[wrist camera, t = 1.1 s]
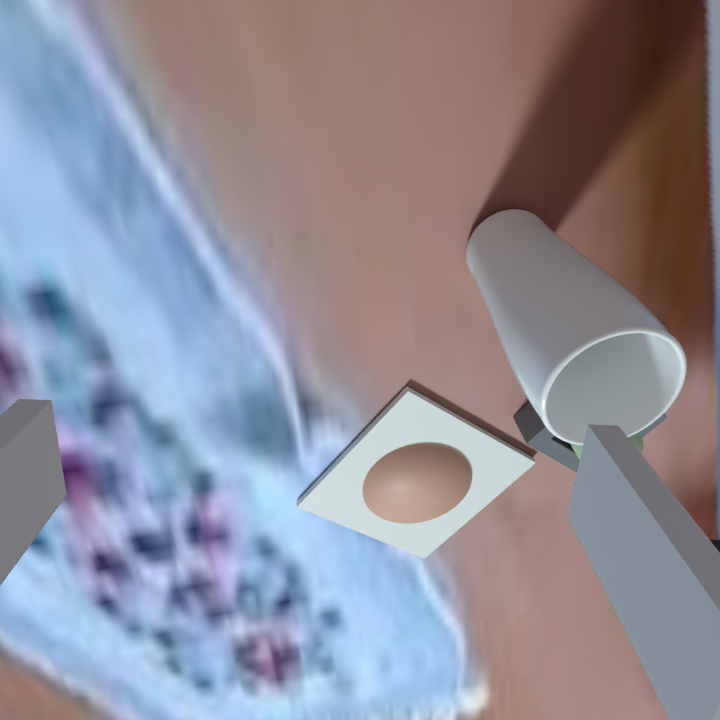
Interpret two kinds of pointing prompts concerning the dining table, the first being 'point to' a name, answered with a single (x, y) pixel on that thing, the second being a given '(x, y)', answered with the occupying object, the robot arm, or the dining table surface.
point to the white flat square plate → (415, 475)
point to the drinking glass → (572, 330)
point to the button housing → (554, 437)
